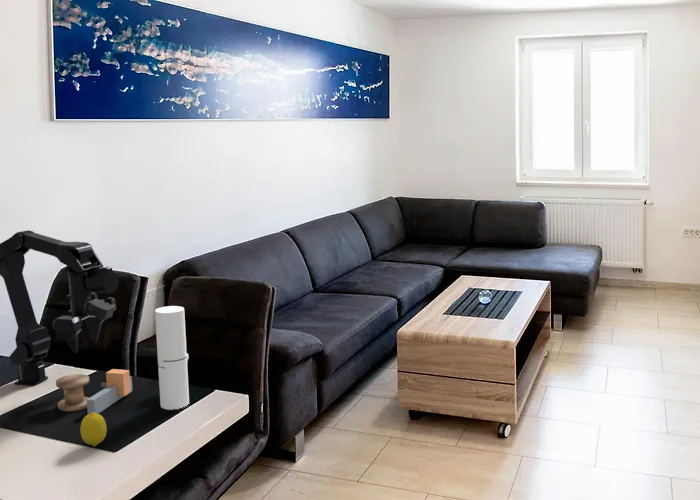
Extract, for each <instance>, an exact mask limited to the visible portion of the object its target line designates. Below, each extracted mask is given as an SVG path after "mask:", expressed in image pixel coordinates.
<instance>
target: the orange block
mask: <svg viewBox="0 0 700 500" xmlns="http://www.w3.org/2000/svg"><path fill="white" fill-rule="evenodd" d="M130 376H131V375H130V370H129V369H117V368H112V369H110V370H109V371H106V372H105V378H106V382H101V383H100V387H101V388H103V387H104V388H106V387H108V386H109V385H112V386H117V395H118V396H124V397H126V396H127V395H129V394H130V393H131V392H132V391H131V390H130Z"/></svg>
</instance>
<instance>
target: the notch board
mask: <svg viewBox="0 0 700 500" xmlns="http://www.w3.org/2000/svg"><path fill="white" fill-rule="evenodd" d="M132 380H133V377H132V376H131V375H130V390H131V392H133V381H132ZM124 397H125V396H118V395H117V386H112V385H109V386H108V387H104V388H103V389H101V390H100V391H98V392H97V393H95V394H94V395H92V396H90V397H89V399H87V408H86V409H87V415H88V414H90V413H91V412H94V413H97V414H100V413H101V412H103V411H105V410H106V409H107V408H109V407H111V405H113V404H115V403H116V402H118V401H119V400H121V399H122V398H124Z"/></svg>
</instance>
